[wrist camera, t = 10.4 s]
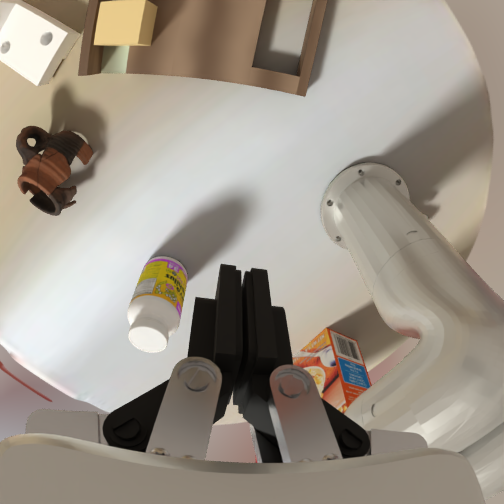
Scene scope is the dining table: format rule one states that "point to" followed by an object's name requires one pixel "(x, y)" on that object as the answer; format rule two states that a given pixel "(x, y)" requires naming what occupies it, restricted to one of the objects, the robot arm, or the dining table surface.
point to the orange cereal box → (335, 368)
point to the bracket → (33, 41)
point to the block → (125, 23)
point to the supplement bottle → (157, 304)
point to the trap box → (202, 44)
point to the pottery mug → (49, 167)
